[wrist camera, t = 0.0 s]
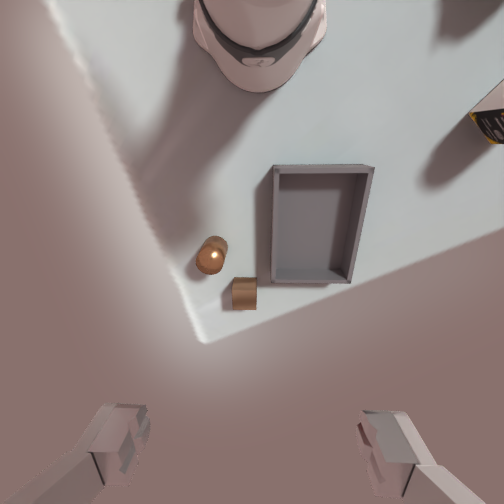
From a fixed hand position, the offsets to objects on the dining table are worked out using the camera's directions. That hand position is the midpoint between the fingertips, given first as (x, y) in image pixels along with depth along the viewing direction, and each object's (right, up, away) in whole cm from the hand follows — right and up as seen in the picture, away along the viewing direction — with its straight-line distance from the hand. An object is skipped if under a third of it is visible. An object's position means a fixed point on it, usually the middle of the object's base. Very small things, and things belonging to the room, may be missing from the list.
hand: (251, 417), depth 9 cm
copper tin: (-8, +7, +40) cm, 41 cm away
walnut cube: (-1, -2, +44) cm, 44 cm away
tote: (+12, +12, +37) cm, 41 cm away
